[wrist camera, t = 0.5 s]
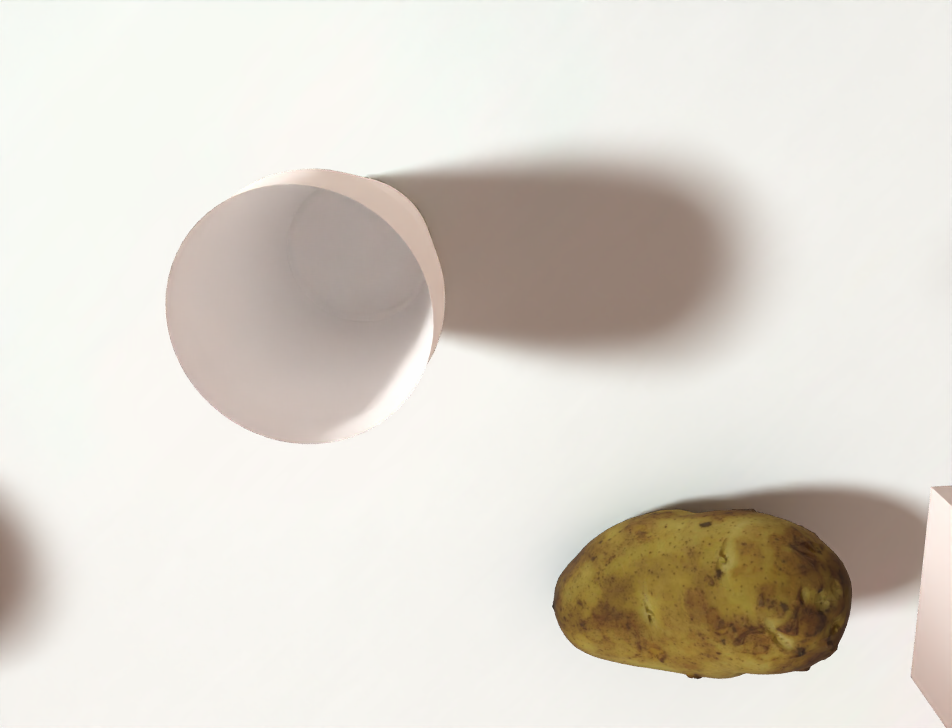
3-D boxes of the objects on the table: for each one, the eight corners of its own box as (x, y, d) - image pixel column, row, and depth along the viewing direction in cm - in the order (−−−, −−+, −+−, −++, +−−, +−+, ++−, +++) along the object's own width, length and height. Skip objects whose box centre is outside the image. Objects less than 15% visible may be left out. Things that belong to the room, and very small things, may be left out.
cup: (439, 133, 36) (410, 155, 25) (473, 329, 39) (461, 429, 27) (240, 167, 37) (124, 203, 25) (288, 357, 40) (202, 466, 28)
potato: (555, 471, 41) (567, 558, 34) (815, 478, 41) (886, 568, 33) (547, 613, 44) (558, 723, 36) (791, 620, 43) (853, 733, 36)
